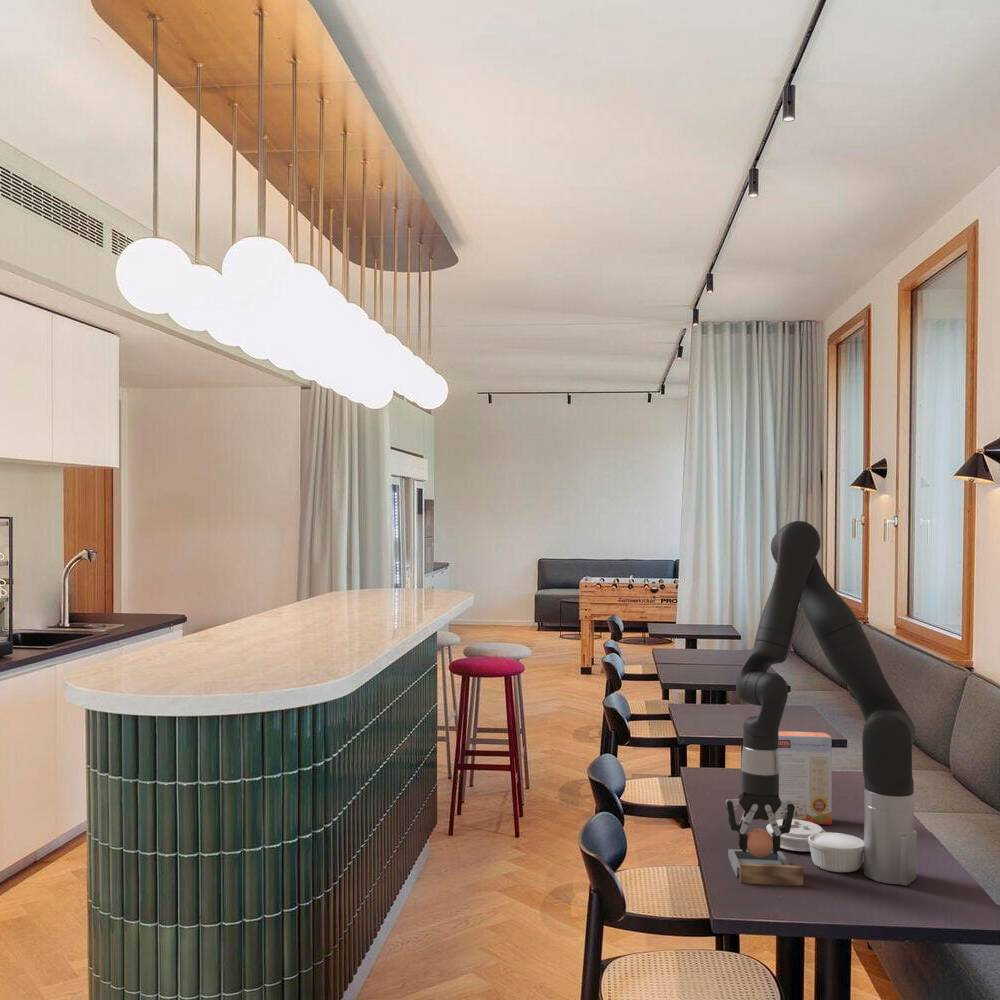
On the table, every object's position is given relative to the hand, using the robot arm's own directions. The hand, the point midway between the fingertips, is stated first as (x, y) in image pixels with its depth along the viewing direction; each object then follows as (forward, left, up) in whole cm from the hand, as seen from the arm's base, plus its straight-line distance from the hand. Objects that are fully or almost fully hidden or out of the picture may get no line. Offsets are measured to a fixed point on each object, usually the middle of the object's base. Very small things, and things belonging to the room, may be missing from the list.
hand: (758, 851), depth 197 cm
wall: (-6, +6, -3) cm, 9 cm away
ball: (0, 0, +2) cm, 2 cm away
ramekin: (-11, -13, -3) cm, 17 cm away
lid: (+1, -20, -4) cm, 20 cm away
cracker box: (+8, -38, -4) cm, 39 cm away
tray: (0, 0, -3) cm, 3 cm away
